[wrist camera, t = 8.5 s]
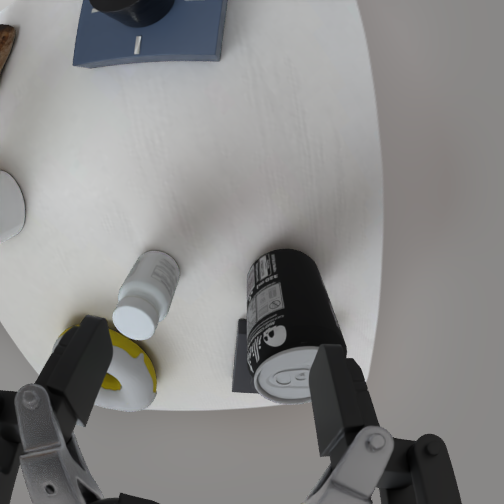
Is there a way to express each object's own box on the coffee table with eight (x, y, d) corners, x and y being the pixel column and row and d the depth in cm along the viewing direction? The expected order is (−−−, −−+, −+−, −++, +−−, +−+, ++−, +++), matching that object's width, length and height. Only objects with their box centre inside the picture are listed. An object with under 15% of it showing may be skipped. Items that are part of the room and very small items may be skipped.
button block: (238, 318, 30) (237, 347, 26) (332, 323, 30) (341, 350, 27) (232, 378, 34) (231, 404, 31) (311, 380, 35) (315, 405, 31)
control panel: (90, 68, 18) (71, 65, 15) (105, -20, 14) (89, -32, 11) (219, 61, 19) (215, 54, 16) (233, -33, 15) (231, -49, 12)
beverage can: (319, 298, 29) (349, 398, 18) (253, 309, 29) (256, 413, 19) (314, 239, 26) (355, 334, 15) (240, 251, 26) (236, 353, 16)
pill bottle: (140, 288, 28) (114, 342, 21) (133, 248, 26) (100, 298, 19) (182, 290, 28) (165, 348, 21) (178, 250, 26) (156, 303, 19)
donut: (46, 315, 30) (28, 340, 26) (137, 312, 29) (122, 345, 25) (91, 385, 37) (81, 411, 32) (173, 391, 36) (167, 421, 32)
